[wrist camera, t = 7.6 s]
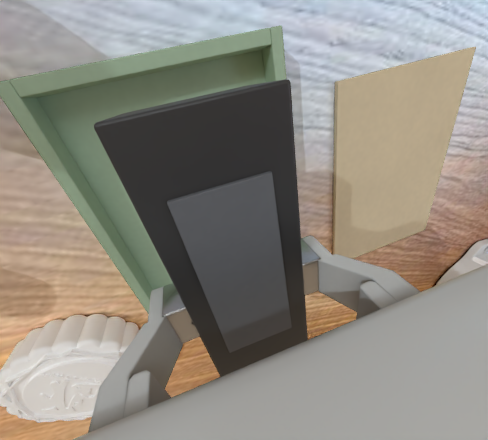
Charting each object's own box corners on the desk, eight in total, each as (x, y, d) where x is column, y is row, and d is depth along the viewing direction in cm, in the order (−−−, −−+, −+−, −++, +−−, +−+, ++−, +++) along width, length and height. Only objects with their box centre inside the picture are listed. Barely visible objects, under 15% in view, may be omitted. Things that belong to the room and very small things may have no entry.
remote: (247, 85, 8) (294, 77, 5) (284, 321, 15) (311, 375, 12) (121, 113, 7) (87, 124, 4) (222, 345, 15) (235, 409, 12)
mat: (471, 47, 20) (476, 46, 20) (422, 228, 30) (425, 230, 30) (334, 81, 18) (337, 81, 18) (332, 264, 28) (334, 266, 28)
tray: (268, 34, 15) (282, 24, 13) (292, 253, 25) (302, 265, 23) (15, 85, 13) (-10, 83, 11) (154, 304, 23) (153, 322, 21)
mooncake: (-11, 381, 21) (-41, 428, 18) (50, 296, 19) (29, 332, 16) (115, 393, 27) (108, 430, 24) (172, 329, 25) (173, 360, 22)
